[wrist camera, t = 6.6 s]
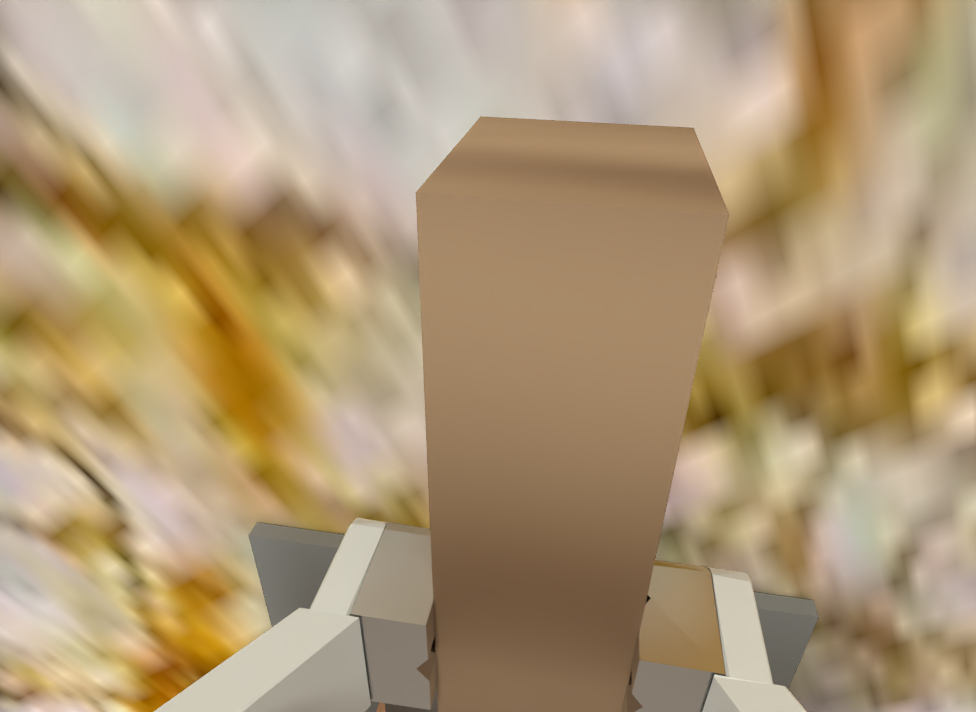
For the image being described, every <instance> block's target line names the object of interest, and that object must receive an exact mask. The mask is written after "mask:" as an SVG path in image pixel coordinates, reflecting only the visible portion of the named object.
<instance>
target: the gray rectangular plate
mask: <svg viewBox="0 0 976 712" xmlns="http://www.w3.org/2000/svg"><path fill="white" fill-rule="evenodd" d="M344 536H345V535H343V534H336V533H329V532H322V531H315V530H308V529H300V528H293V527H286V526H279V525H272V524H265V523H258V522H257V523H256V525H255V526H254V528H253V529H252V531H251V533H250V534H249V539H250V543H251V547H252V551H253V555H254V558H255V562H256V566H257V570H258V574H259V578H260V582H261V586H262V590H263V594H264V598H265V602H266V605H267V609H268V613H269V617H270V621H271V625H272V627H273V626H274V625H276V624H277V623H279V622H280V621H281V620H283V619H284V618H286V617H287V616H288V615H290V614H291V613H293V612H294V611H295V610H297V609H298V608H306V609H310V607H311V605H312V603H313V601H314V598H315V596H316V594H317V592H318V590H319V588H320V586H321V584H322V582H323V580H324V577H325V575H326V573H327V571H328V569H329V567H330V565H331V563H332V561H333V559H334V557H335V554H336V552H337V550H338V548H339V546H340V544H341V542H342V540H343V538H344ZM754 596H755V601H756V606H757V610H758V615H759V620H760V624H761V629H762V634H763V638H764V643H765V648H766V653H767V657H768V662H769V667H770V671H771V676H772V681H773V684H776V685H781V686H786V688H787V689H788V688H789V686H790V683H791V681H792V679H793V676H794V674H795V672H796V669H797V667H798V664H799V662H800V660H801V657H802V655H803V653H804V650H805V648H806V646H807V643H808V641H809V639H810V636H811V634H812V632H813V629H814V627H815V624H816V622H817V620H818V613H817V610H816V606H815V603H814V600H808V599H801V598H794V597H787V596H780V595H773V594H765V593H758V592H754ZM378 705H379V702H374V701H371V706H370V707H369V708H368V709H367V710H366V711H365V712H376V711H377V708H378Z"/></svg>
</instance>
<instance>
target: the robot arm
mask: <svg viewBox="0 0 976 712" xmlns="http://www.w3.org/2000/svg"><path fill="white" fill-rule="evenodd" d="M435 633H436V630H435V612H434V599H433V582H432V558H431V535H430V529H426V528H420V527H414V526H408V525H402V524H396V523H387V522H381V521H375V520H369V519H363V518H356V519H355V520H354V521H353V522H352V523H351V524H350V525H349V527H348V529H347V531H346V533H345V536H344V538H343V540H342V542H341V544H340V546H339V548H338V550H337V552H336V554H335V557H334V559H333V561H332V563H331V565H330V567H329V569H328V571H327V573H326V575H325V577H324V580H323V582H322V584H321V586H320V588H319V590H318V592H317V594H316V596H315V598H314V601H313V603H312V605H311V607H310V609H306V608H298V609H297V610H295V611H294V612H293V613H291V614H290V615H288V616H287V617H286V618H284V619H283V620H281V621H280V622H279V623H277V624H276V625H274V626H273V627H272V628H270V629H269V630H267V631H266V632H265V633H263V634H262V635H260V636H259V637H258V638H256V639H255V640H253V641H252V642H251V643H249V644H248V645H246V646H245V647H244V648H242V649H241V650H239V651H238V652H237V653H235V654H234V655H232V656H231V657H230V658H228V659H227V660H225V661H224V662H223V663H221V664H220V665H218V666H217V667H216V668H214V669H213V670H211V671H210V672H209V673H207V674H206V675H204V676H203V677H202V678H200V679H199V680H197V681H196V682H195V683H193V684H192V685H190V686H189V687H188V688H186V689H185V690H183V691H182V692H181V693H179V694H178V695H176V696H175V697H174V698H172V699H171V700H169V701H168V702H167V703H165V704H164V705H162V706H161V707H160V708H158V709H157V710H155V711H154V712H365V711H366V710H367V709H368V708H369V707H370V706H371V701H374V702H380V703H387V704H394V705H401V706H407V707H414V708H421V709H427V710H431V707H432V703H433V699H434V695H435V691H436V687H437V654H436V652H435ZM622 712H807V711H806V710H805V709H804V708H803V706H802V705H801V704H800V703H799V702H798V701H797V699H796V698H795V697H794V696H793V695H792V693H791V692H790V691H789V690H788V689H787V688H786V686H781V685H776V684H773V681H772V676H771V671H770V667H769V662H768V657H767V653H766V648H765V643H764V638H763V634H762V629H761V624H760V620H759V615H758V610H757V606H756V601H755V596H754V591H753V587H752V582H751V579H750V577H749V576H748V574H747V573H746V572H739V571H731V570H724V569H716V568H706V567H704V566H696V565H689V564H681V563H673V562H665V561H658V560H655V562H654V567H653V572H652V576H651V581H650V586H649V590H648V595H647V600H646V604H645V609H644V614H643V618H642V623H641V628H640V631H639V632H638V636H637V641H636V645H635V650H634V654H633V659H632V663H631V674H630V679H629V683H628V685H627V687H626V692H625V697H624V702H623V707H622Z"/></svg>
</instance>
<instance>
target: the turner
mask: <svg viewBox="0 0 976 712" xmlns="http://www.w3.org/2000/svg"><path fill="white" fill-rule="evenodd" d="M416 206H417V229H418V253H419V276H420V300H421V323H422V347H423V370H424V394H425V417H426V441H427V464H428V488H429V511H430V535H431V558H432V582H433V599H434V612H435V630H436V633H435V652H436V654H437V687H436V691H435V695H434V699H433V703H432V707H431V710H427V709H421V708H414V707H407V706H401V705H394V704H387V703H385V710H386V712H622V707H623V702H624V697H625V692H626V687H627V685H628V683H629V679H630V674H631V663H632V659H633V654H634V650H635V645H636V641H637V636H638V632H639V631H640V628H641V623H642V618H643V614H644V609H645V604H646V600H647V595H648V590H649V586H650V581H651V576H652V572H653V567H654V562H655V558H656V553H657V548H658V544H659V539H660V534H661V530H662V525H663V520H664V516H665V511H666V506H667V502H668V497H669V492H670V488H671V483H672V478H673V474H674V469H675V465H676V460H677V455H678V451H679V446H680V441H681V437H682V432H683V427H684V423H685V418H686V413H687V409H688V404H689V399H690V395H691V390H692V385H693V381H694V376H695V371H696V367H697V362H698V357H699V353H700V348H701V343H702V339H703V334H704V329H705V325H706V320H707V315H708V311H709V306H710V301H711V297H712V292H713V287H714V283H715V278H716V274H717V269H718V264H719V260H720V255H721V250H722V246H723V241H724V236H725V232H726V227H727V222H728V218H729V213H728V210H727V208H726V206H725V203H724V201H723V198H722V196H721V193H720V191H719V189H718V186H717V184H716V181H715V179H714V176H713V174H712V172H711V169H710V167H709V164H708V162H707V160H706V157H705V155H704V152H703V150H702V147H701V145H700V143H699V140H698V138H697V135H696V133H695V130H694V128H686V127H667V126H648V125H629V124H611V123H592V122H573V121H554V120H535V119H517V118H498V117H480V118H479V119H478V120H477V122H476V123H475V124H474V125H473V126H472V128H471V129H470V130H469V131H468V132H467V133H466V135H465V136H464V137H463V138H462V139H461V140H460V142H459V143H458V144H457V145H456V146H455V147H454V149H453V150H452V151H451V152H450V153H449V154H448V156H447V157H446V158H445V159H444V160H443V161H442V163H441V164H440V165H439V166H438V167H437V168H436V170H435V171H434V172H433V173H432V174H431V175H430V177H429V178H428V179H427V180H426V181H425V183H424V184H423V185H422V186H421V187H420V188H419V190H418V191H417V192H416Z"/></svg>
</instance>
